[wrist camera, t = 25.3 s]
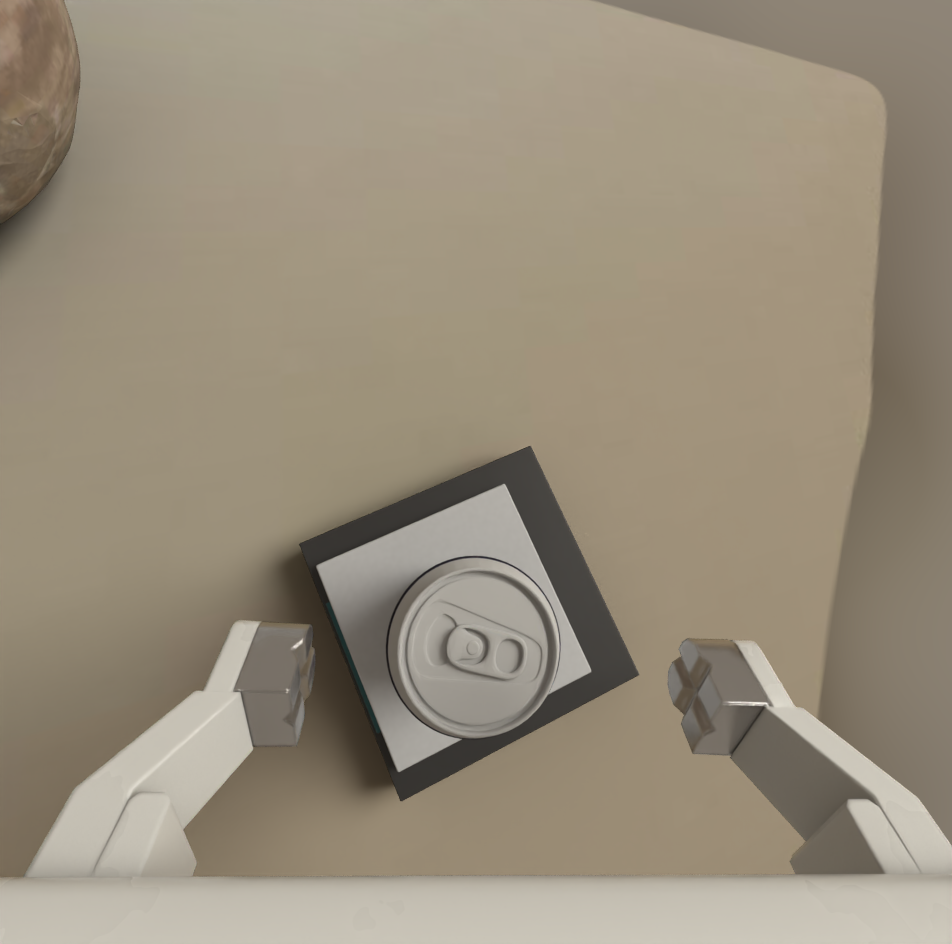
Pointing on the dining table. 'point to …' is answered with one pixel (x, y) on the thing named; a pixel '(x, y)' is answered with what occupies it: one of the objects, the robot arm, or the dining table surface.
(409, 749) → the scale
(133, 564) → the dining table surface
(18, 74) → the bowl
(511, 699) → the beverage can
